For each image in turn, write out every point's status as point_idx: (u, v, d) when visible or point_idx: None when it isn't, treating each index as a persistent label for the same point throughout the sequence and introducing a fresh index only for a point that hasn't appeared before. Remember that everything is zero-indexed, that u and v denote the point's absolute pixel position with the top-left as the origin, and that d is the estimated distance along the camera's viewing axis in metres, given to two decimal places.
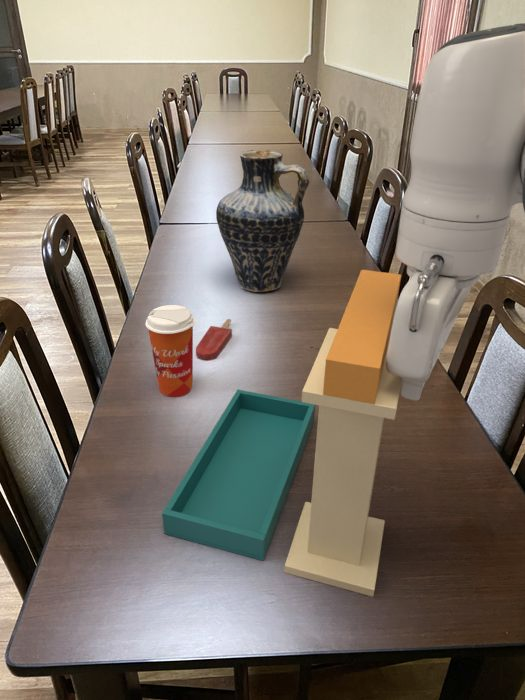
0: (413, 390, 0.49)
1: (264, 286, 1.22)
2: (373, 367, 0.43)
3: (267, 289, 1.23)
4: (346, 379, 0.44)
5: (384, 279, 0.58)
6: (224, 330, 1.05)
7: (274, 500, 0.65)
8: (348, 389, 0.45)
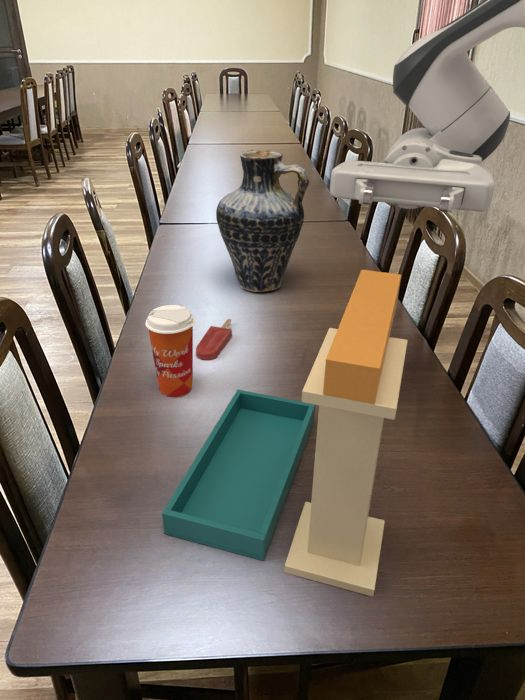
0: None
1: (264, 286, 1.22)
2: (373, 367, 0.43)
3: (267, 289, 1.23)
4: (346, 379, 0.44)
5: (384, 279, 0.58)
6: (224, 330, 1.05)
7: (274, 500, 0.65)
8: (348, 389, 0.45)
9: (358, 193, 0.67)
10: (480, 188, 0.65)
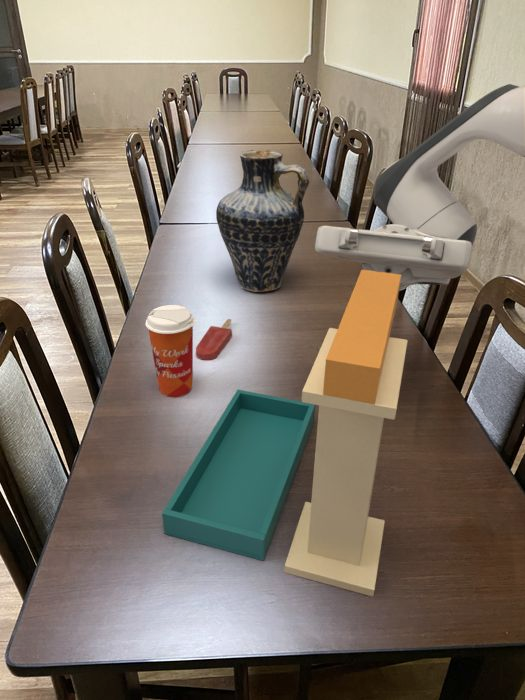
0: None
1: (264, 286, 1.22)
2: (373, 367, 0.43)
3: (267, 289, 1.23)
4: (346, 379, 0.44)
5: (384, 279, 0.58)
6: (224, 330, 1.05)
7: (274, 500, 0.65)
8: (348, 389, 0.45)
9: (343, 238, 0.69)
10: (459, 244, 0.68)
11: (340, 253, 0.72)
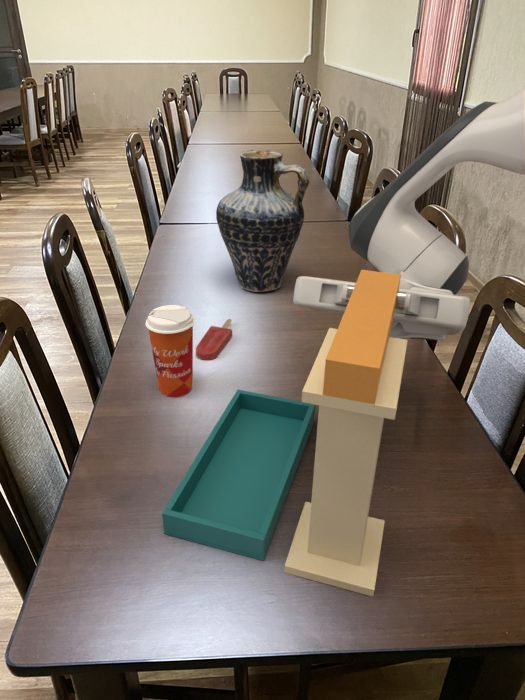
0: None
1: (264, 286, 1.22)
2: (373, 367, 0.43)
3: (267, 289, 1.23)
4: (346, 379, 0.44)
5: (384, 279, 0.58)
6: (224, 330, 1.05)
7: (274, 500, 0.65)
8: (348, 389, 0.45)
9: (340, 295, 0.61)
10: (455, 301, 0.60)
11: (321, 307, 0.64)
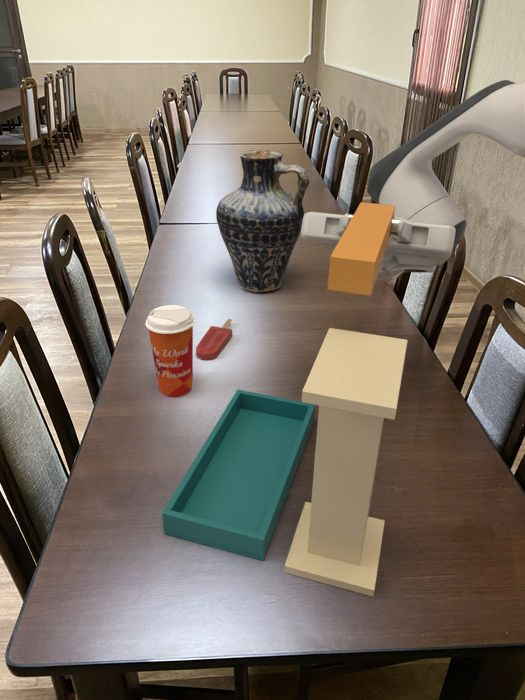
0: None
1: (264, 286, 1.22)
2: (370, 261, 0.52)
3: (267, 289, 1.23)
4: (347, 274, 0.53)
5: (380, 208, 0.67)
6: (224, 330, 1.05)
7: (274, 500, 0.65)
8: (349, 283, 0.54)
9: (342, 225, 0.69)
10: (443, 229, 0.68)
11: (325, 239, 0.73)
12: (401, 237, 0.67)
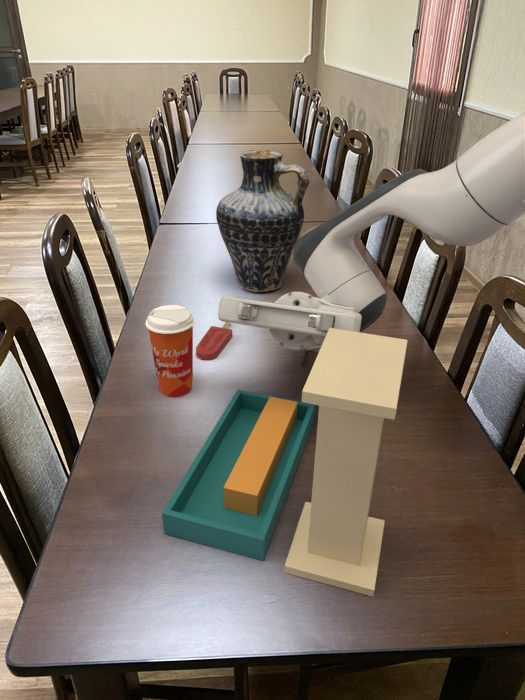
0: None
1: (264, 286, 1.22)
2: (253, 494, 0.65)
3: (267, 289, 1.23)
4: (237, 500, 0.66)
5: (284, 406, 0.80)
6: (224, 330, 1.05)
7: (274, 500, 0.65)
8: (239, 506, 0.67)
9: None
10: (348, 318, 0.71)
11: (240, 323, 0.75)
12: (321, 329, 0.70)
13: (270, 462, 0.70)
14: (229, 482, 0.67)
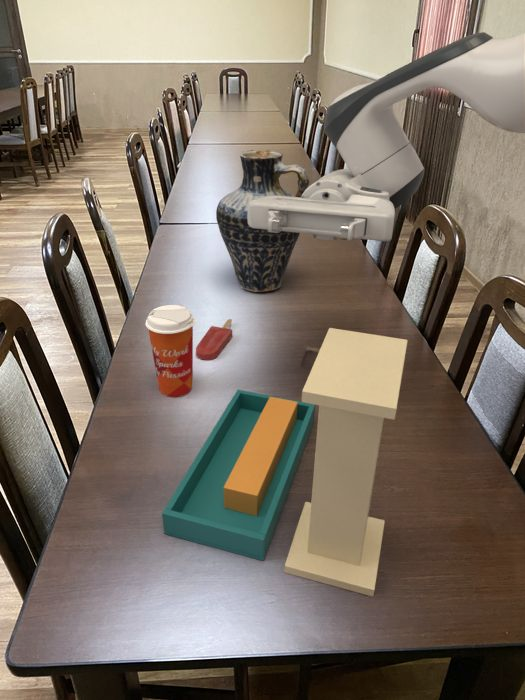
0: None
1: (264, 286, 1.22)
2: (253, 494, 0.65)
3: (267, 289, 1.23)
4: (237, 500, 0.66)
5: (284, 406, 0.80)
6: (224, 330, 1.05)
7: (274, 500, 0.65)
8: (239, 506, 0.67)
9: None
10: (380, 219, 0.70)
11: None
12: None
13: (270, 462, 0.70)
14: (229, 482, 0.67)
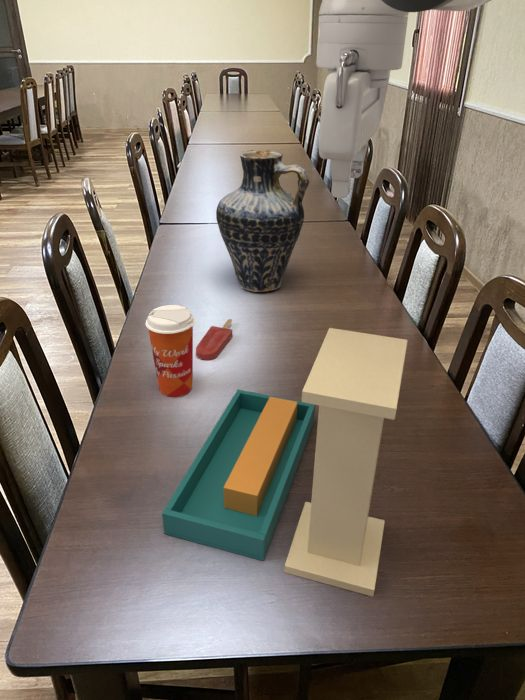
0: (342, 187, 0.57)
1: (264, 286, 1.22)
2: (253, 494, 0.65)
3: (267, 289, 1.23)
4: (237, 500, 0.66)
5: (284, 406, 0.80)
6: (224, 330, 1.05)
7: (274, 500, 0.65)
8: (239, 506, 0.67)
9: (338, 176, 0.56)
10: None
11: None
12: None
13: (270, 462, 0.70)
14: (229, 482, 0.67)
